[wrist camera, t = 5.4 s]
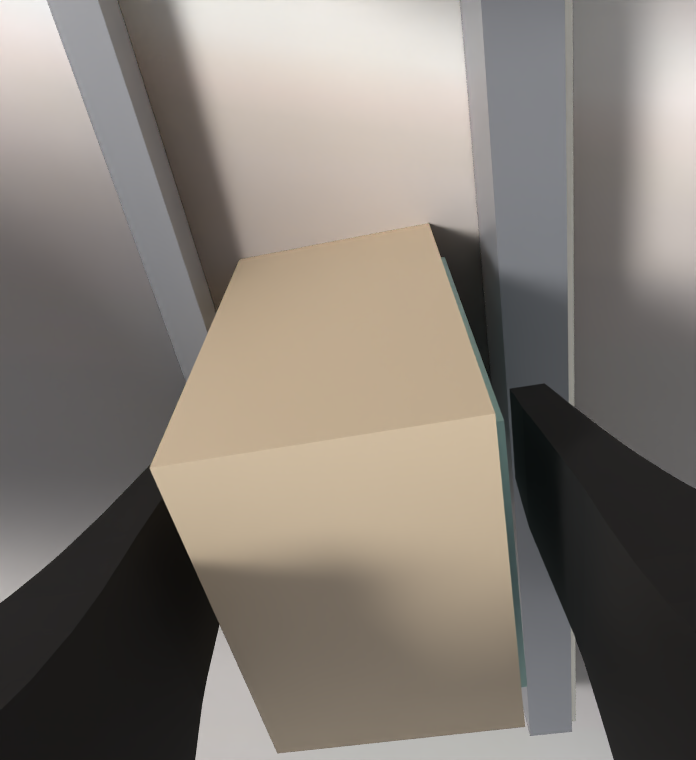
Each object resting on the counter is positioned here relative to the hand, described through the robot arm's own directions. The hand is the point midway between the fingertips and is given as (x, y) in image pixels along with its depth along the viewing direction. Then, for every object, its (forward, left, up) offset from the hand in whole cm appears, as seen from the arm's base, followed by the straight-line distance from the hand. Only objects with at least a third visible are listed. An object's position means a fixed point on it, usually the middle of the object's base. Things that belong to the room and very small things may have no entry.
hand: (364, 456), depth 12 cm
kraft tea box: (0, 0, -3) cm, 3 cm away
